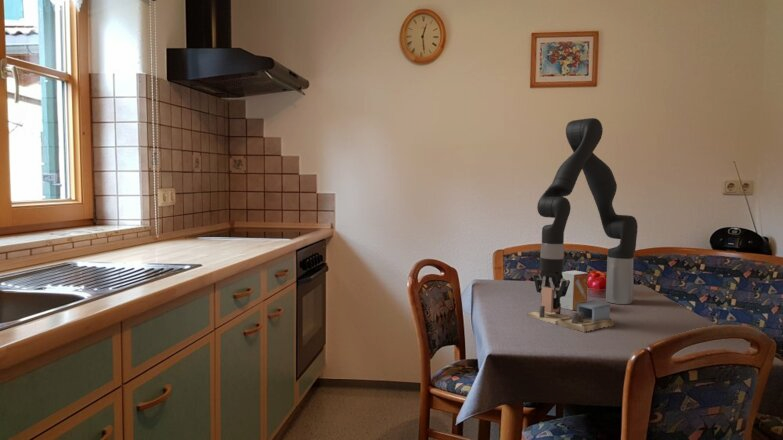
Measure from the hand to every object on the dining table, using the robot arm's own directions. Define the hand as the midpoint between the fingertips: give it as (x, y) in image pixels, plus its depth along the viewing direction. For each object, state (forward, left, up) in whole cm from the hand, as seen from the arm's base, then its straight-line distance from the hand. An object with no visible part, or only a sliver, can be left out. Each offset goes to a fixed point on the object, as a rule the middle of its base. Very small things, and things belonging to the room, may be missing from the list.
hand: (550, 307), depth 186 cm
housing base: (-3, +12, -4) cm, 13 cm away
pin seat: (0, 0, -4) cm, 4 cm away
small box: (-20, -6, -4) cm, 21 cm away
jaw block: (0, 0, -1) cm, 1 cm away
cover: (-6, +12, -2) cm, 14 cm away
